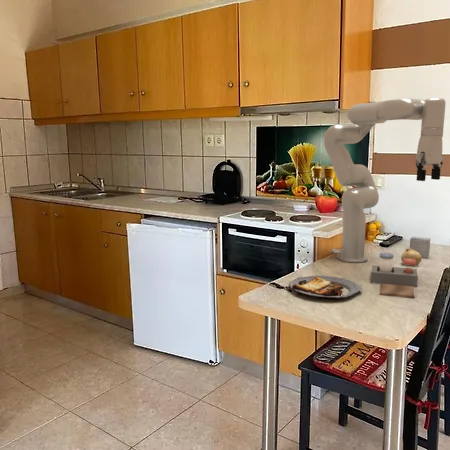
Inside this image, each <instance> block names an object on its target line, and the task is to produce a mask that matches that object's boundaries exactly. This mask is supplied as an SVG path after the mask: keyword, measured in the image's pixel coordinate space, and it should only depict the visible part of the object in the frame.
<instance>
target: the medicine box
mask: <svg viewBox="0 0 450 450" xmlns="http://www.w3.org/2000/svg"><path fill="white" fill-rule="evenodd" d="M409 239H410V240H409V249H413V250H415V251H417V252H418V253H419V254H420V255H421V258H422V259H428V258H429V257H430V252H431V251H430V248H431V247H430V246H431V238H430V237H425V236H424V237H421V236H411V237H410V238H409Z"/></svg>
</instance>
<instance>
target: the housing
mask: <svg viewBox="0 0 450 450" xmlns="http://www.w3.org/2000/svg"><path fill="white" fill-rule="evenodd" d="M405 268H406V267H397V266H394V267H393V266H392V272H380V271H379V269H380V265H374V264H372V267H371V271H370V283H371V284H372V283H373V284H380V283H382V284H393V285H403V286H413V288H414V287H415V288H417V287H418V279H419V275H418V270H417V268H412V273H405Z"/></svg>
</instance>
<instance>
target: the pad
mask: <svg viewBox="0 0 450 450" xmlns="http://www.w3.org/2000/svg"><path fill="white" fill-rule="evenodd" d="M379 285H380V286H379V296H388V297H396V298H397V297H398V298H406V299H407V298H408V299H415V291H414V287H413V286H403V285H393V284H382V283H379Z"/></svg>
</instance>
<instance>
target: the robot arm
mask: <svg viewBox="0 0 450 450" xmlns="http://www.w3.org/2000/svg"><path fill="white" fill-rule="evenodd" d="M445 114H446V100H445V99H444V98H441V97H432V98H426V99H417V98H397V99H387V100H384V101H381V100H380V101H373V102H365V103H357V104H354V105H351V106H350V108H349V109H348V111H347V116H346V117H347V119H348V121H349V124H347V123H337V124H333V125H331V126H329V127H328V129H327V130H326V131H325V133H324V138H323V146H324V149H325V152H326V153H327V156H328V157H329V160H330V162H331V166H332V168H333V171H334V174H335V177H336V179H337V182H338V183H339V185H340V186H342V187H349V189H347V190H345V191H344V192H343V194H342V196H341V205H342V217H343V218H342V219H343V220H342V238H341V239H342V240H341V241H342V243H341V248H331V253H332V254H334V255H337V259H338V260H340V261H341V262H347V263H365V262H367V261H368V256H366V255H365V244H366V243H365V241H366V222H367V220H366V219H367V218H366V214H365V209H371V208H374V207H376V205H377V204H378V202H379V201H380V200H379V198H380V197H379V191H378V188H377V185H376V183H375V181H374V179H373V176H372V172H371V171H370V169H368V167H367V165H366V166H365V165H364V164H359V163H358V164H355V163H354V162H353V160H352V156H351V154H350V152H349V150H347V148H346V147H345V146H344V145H345V144H346V145H347V144H348V145H353V144H357V143H359V142H360V141H362V140H363V139H364V137H366V135H367V134H368V133H369V132H370V131H372V129H373V127H374V126H375V125H376V124H385V123H386V122H387V121H395V120H397V121H399V120H410V121H411V120H412V121H420V120H421V124H420V125H421V126H420V137H419V140H418V143H417V144H418V145H417V149H416V150H417V151H416V157H415V158H414V161H415V166H416V182H417V181H418V182H419V181H420V182H425V181H426V175H427V170H426V168H427V166H428V165H431V166H432V168H431V174H430V177H431V178H430V179H431V180H441V169H442V165H443V164H444V163H443V161H444V159H445V156H444V155H443V137H444V127H445V126H444V123H445V117H446V115H445ZM350 123H351V124H350ZM350 187H351V188H350Z"/></svg>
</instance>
